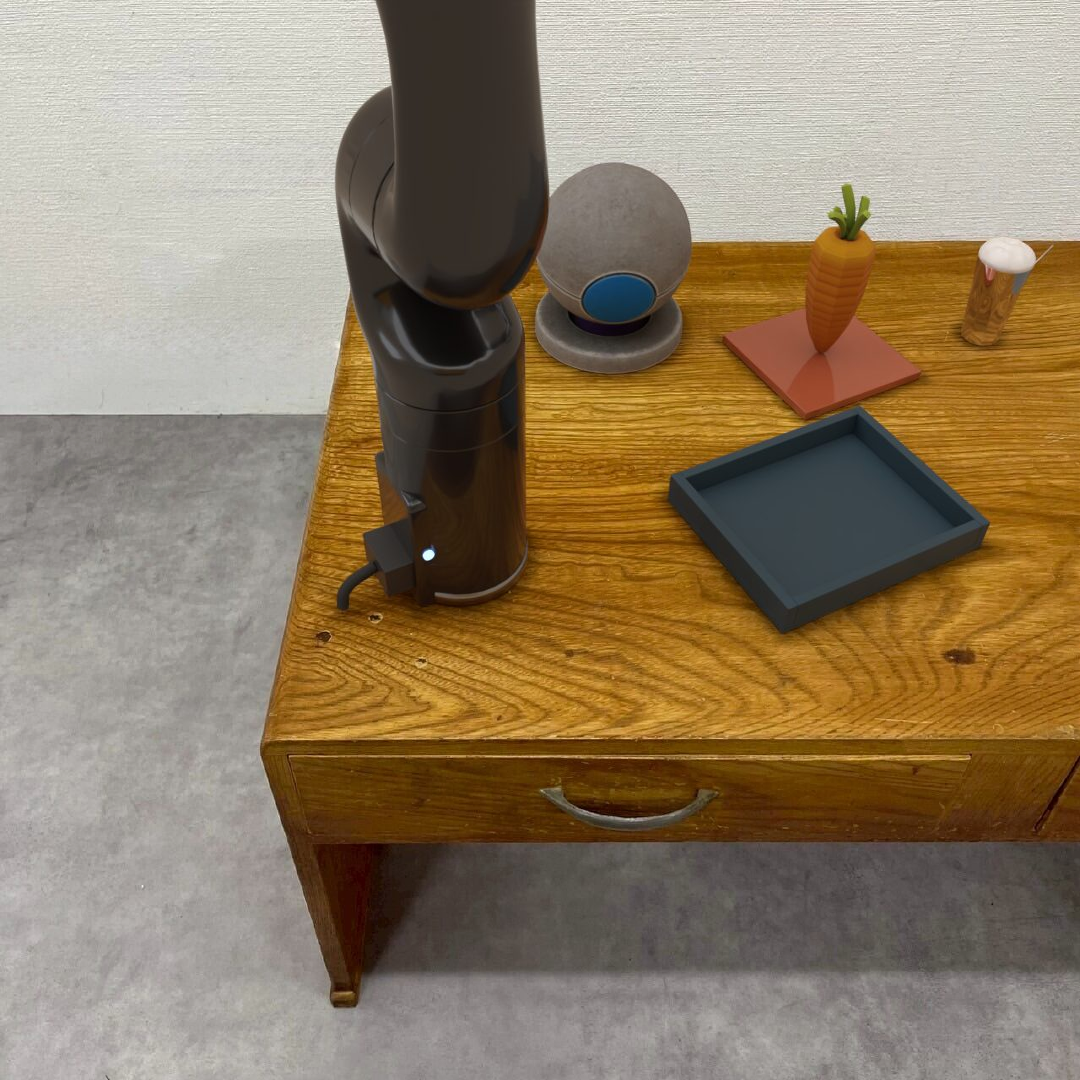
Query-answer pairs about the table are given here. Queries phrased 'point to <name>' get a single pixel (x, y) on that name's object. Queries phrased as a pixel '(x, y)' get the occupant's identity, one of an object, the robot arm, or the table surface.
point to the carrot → (838, 272)
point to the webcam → (612, 270)
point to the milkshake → (996, 288)
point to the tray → (824, 516)
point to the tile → (819, 363)
